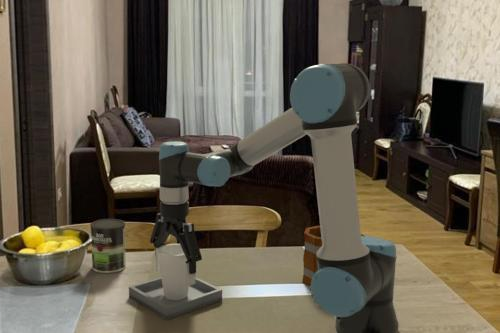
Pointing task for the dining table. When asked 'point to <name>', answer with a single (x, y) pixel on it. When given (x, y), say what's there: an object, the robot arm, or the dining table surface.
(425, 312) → the dining table surface
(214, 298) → the tray
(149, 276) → the dining table surface
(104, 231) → the coffee can
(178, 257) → the foam cup
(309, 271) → the mug
